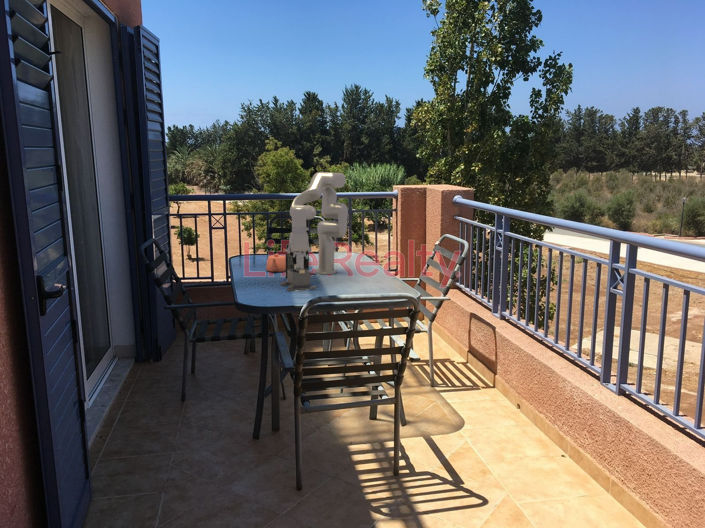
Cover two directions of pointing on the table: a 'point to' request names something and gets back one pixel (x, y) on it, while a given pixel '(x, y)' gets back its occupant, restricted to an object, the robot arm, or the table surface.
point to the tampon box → (291, 266)
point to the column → (299, 262)
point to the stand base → (298, 280)
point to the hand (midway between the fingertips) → (298, 263)
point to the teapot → (276, 263)
